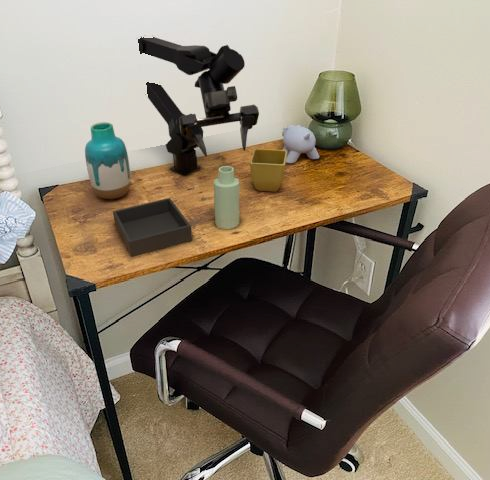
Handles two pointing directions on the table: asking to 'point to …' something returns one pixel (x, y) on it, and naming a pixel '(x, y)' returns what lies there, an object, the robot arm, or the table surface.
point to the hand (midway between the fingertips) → (225, 152)
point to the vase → (107, 162)
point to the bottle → (226, 198)
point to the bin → (152, 226)
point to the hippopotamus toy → (298, 143)
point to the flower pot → (267, 169)
